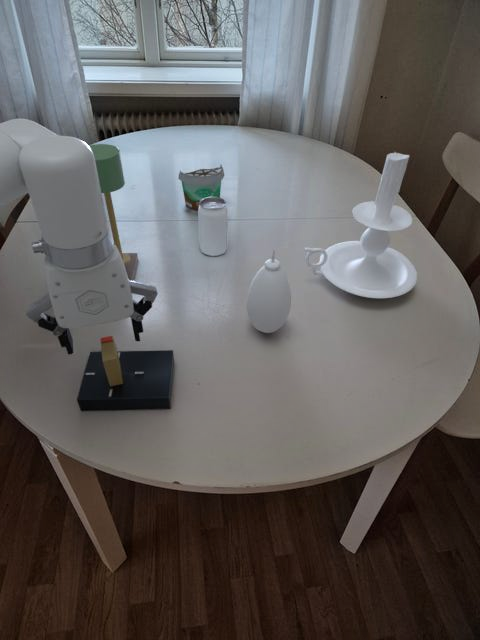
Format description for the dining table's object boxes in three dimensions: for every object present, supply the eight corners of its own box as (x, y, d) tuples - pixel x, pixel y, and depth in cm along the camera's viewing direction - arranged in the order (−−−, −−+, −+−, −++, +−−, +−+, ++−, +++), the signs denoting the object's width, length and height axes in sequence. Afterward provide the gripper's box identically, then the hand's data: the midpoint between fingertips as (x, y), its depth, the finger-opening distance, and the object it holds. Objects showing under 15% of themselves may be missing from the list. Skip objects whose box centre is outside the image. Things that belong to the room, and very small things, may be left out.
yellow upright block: (123, 384, 68) (116, 357, 64) (110, 386, 67) (102, 360, 63) (119, 361, 71) (112, 334, 67) (107, 363, 71) (99, 337, 66)
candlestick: (290, 254, 100) (306, 131, 81) (392, 250, 103) (430, 129, 84) (310, 313, 86) (335, 180, 66) (428, 307, 88) (485, 176, 69)
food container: (188, 217, 112) (185, 180, 105) (180, 206, 116) (177, 170, 109) (231, 208, 116) (231, 172, 109) (222, 198, 120) (222, 163, 113)
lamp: (100, 270, 88) (73, 159, 72) (106, 251, 93) (82, 143, 77) (135, 270, 88) (116, 160, 72) (139, 251, 93) (122, 144, 77)
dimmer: (80, 411, 67) (76, 399, 65) (93, 363, 75) (89, 350, 73) (170, 409, 68) (168, 397, 66) (174, 361, 75) (173, 349, 73)
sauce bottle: (264, 309, 86) (271, 231, 74) (295, 328, 82) (307, 249, 70) (237, 328, 82) (240, 248, 70) (268, 349, 78) (276, 269, 66)
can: (225, 240, 104) (225, 194, 96) (229, 256, 99) (229, 209, 91) (198, 242, 103) (196, 196, 95) (201, 258, 99) (199, 211, 90)
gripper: (0, 274, 48) (42, 372, 60) (155, 252, 52) (166, 347, 64) (5, 238, 53) (43, 335, 65) (145, 220, 57) (157, 314, 69)
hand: (104, 341), depth 64 cm, fingers open, 9 cm apart
